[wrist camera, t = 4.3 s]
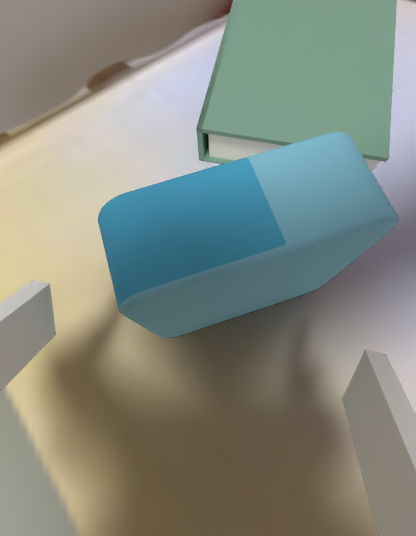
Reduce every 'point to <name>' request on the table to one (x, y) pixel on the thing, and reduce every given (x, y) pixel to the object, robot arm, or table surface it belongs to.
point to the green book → (300, 77)
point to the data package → (242, 234)
